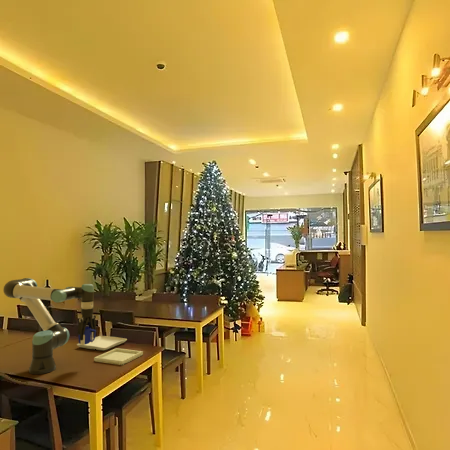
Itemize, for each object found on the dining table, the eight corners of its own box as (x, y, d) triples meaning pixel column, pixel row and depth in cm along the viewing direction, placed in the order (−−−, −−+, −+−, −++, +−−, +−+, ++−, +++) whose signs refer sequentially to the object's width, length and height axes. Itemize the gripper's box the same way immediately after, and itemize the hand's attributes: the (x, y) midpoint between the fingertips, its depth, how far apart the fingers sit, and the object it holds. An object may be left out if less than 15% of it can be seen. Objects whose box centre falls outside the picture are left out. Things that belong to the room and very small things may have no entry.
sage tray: (122, 365, 241) (122, 361, 241) (94, 361, 249) (94, 357, 249) (142, 354, 262) (142, 351, 262) (116, 351, 271) (116, 348, 271)
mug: (91, 346, 237) (92, 330, 237) (74, 344, 239) (75, 329, 239) (98, 342, 245) (99, 327, 245) (82, 341, 247) (82, 326, 247)
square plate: (75, 349, 279) (75, 343, 279) (100, 339, 305) (100, 335, 305) (104, 352, 269) (104, 347, 269) (127, 343, 295) (127, 338, 295)
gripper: (80, 311, 232) (80, 348, 231) (102, 305, 250) (101, 340, 249) (71, 310, 235) (70, 346, 234) (93, 305, 253) (92, 339, 252)
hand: (86, 343), depth 241 cm, fingers closed on mug, 7 cm apart
